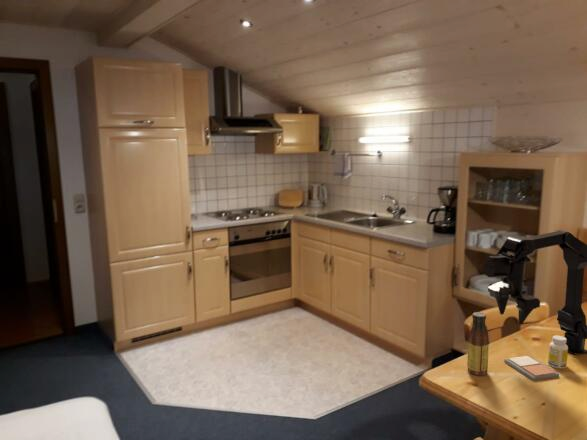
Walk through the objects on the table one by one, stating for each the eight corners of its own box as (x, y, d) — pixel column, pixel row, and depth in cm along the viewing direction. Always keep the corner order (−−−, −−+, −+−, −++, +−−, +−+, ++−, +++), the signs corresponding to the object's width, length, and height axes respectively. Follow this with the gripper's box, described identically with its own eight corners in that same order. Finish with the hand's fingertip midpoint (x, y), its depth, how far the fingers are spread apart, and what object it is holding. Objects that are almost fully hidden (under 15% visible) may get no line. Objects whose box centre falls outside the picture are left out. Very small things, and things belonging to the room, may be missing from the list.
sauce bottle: (484, 367, 155) (488, 310, 152) (489, 377, 149) (494, 318, 146) (463, 366, 156) (467, 310, 152) (468, 376, 150) (472, 317, 146)
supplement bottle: (564, 363, 159) (567, 335, 157) (567, 370, 154) (570, 342, 152) (546, 360, 160) (549, 333, 159) (549, 367, 155) (552, 339, 154)
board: (528, 358, 162) (529, 354, 162) (559, 376, 149) (559, 372, 149) (504, 361, 159) (504, 358, 159) (532, 380, 147) (533, 376, 147)
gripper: (476, 268, 163) (473, 311, 166) (513, 284, 145) (509, 332, 148) (503, 266, 166) (500, 308, 168) (543, 282, 148) (539, 328, 151)
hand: (510, 319), depth 159 cm, fingers open, 9 cm apart
